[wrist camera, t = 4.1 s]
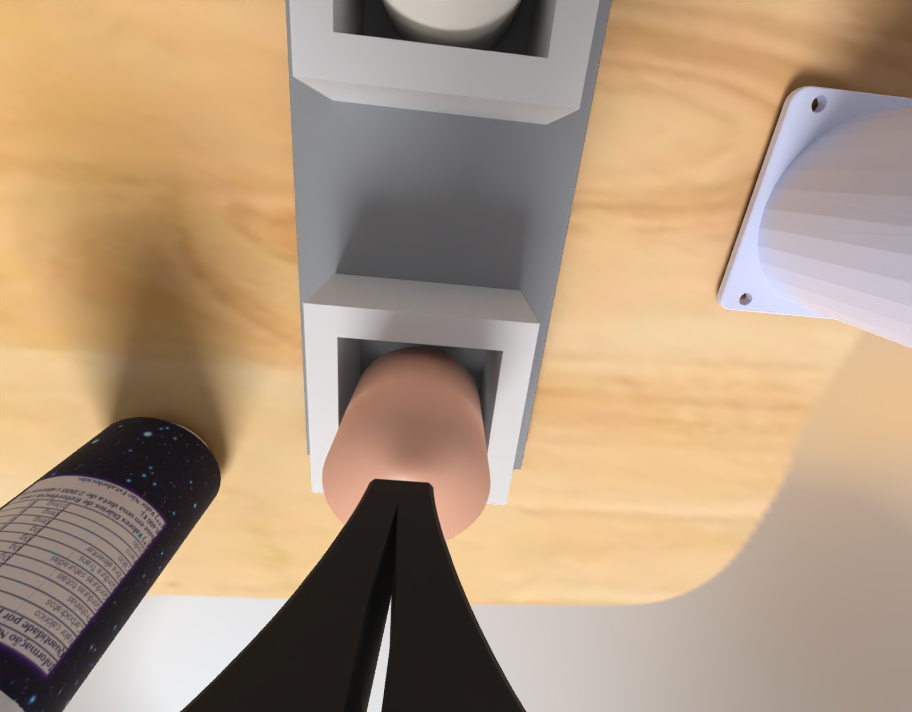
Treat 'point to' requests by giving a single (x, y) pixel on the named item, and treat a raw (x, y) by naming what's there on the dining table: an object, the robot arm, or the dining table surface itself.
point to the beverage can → (92, 552)
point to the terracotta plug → (413, 436)
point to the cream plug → (452, 21)
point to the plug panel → (434, 201)
